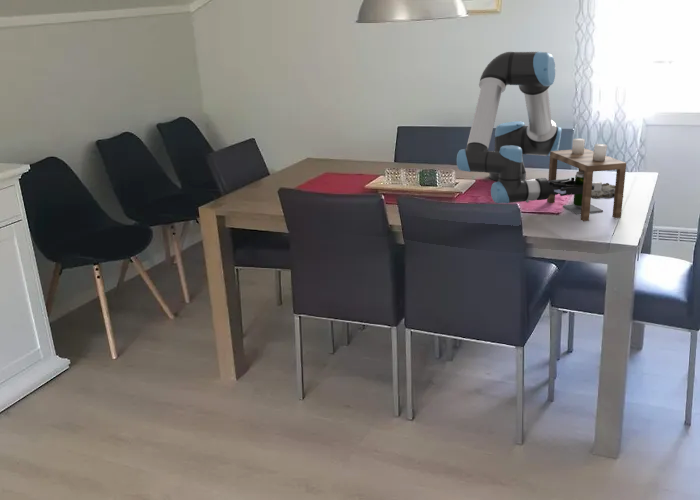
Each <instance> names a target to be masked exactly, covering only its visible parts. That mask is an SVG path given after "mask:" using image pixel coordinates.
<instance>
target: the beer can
mask: <svg viewBox="0 0 700 500" xmlns="http://www.w3.org/2000/svg"><path fill="white" fill-rule="evenodd" d="M574 181H575V185H583V183H584V171H579V170H578V171H577V172H576V174H575V176H574ZM582 195H583V194H575V195H573V203H572V204H574V206H575V207H578V208H582Z"/></svg>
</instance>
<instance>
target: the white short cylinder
mask: <svg viewBox="0 0 700 500" xmlns="http://www.w3.org/2000/svg"><path fill="white" fill-rule="evenodd" d="M585 142H586V139H585V138H580V137H579V138H573V139H572V149H571V150H572V154H576V155H581V154H584V148H585Z"/></svg>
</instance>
